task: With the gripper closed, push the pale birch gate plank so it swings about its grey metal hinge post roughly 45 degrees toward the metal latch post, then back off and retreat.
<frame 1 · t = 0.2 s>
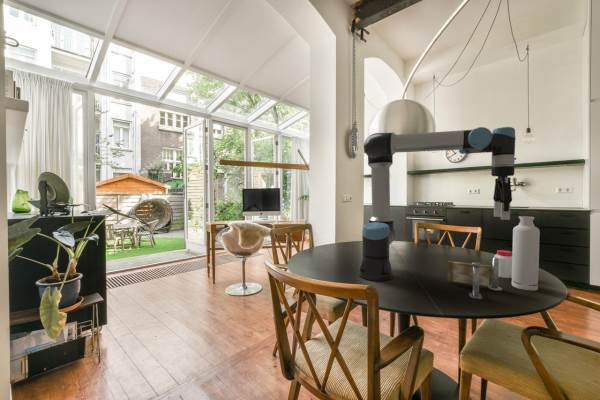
hand: (501, 218, 111), 27 cm above the table, fingers open, 13 cm apart
pill bottle: (503, 275, 122), on the table
bottle: (524, 287, 108), on the table
gate: (468, 273, 109), point 5 cm above the table, hinge at 0.0°
hinge post: (494, 288, 105), on the table
latch post: (475, 296, 98), on the table
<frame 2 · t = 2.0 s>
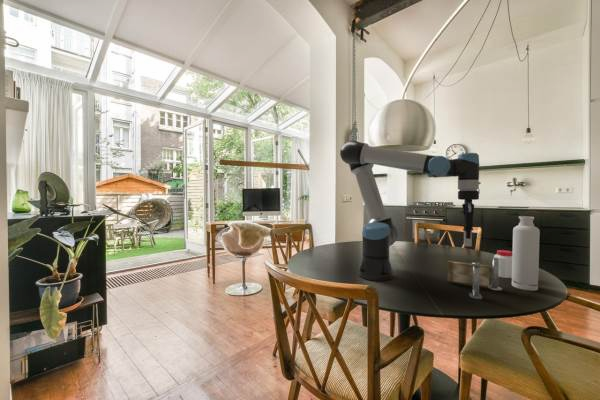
hand: (467, 245, 115), 15 cm above the table, fingers closed
nothing on the table moved.
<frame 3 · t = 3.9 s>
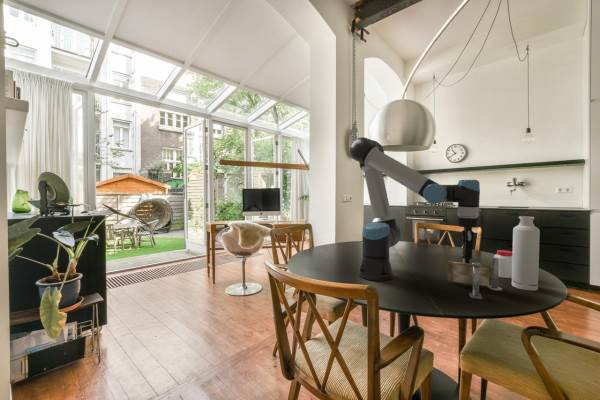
hand: (466, 273, 112), 4 cm above the table, fingers closed
gate: (468, 273, 109), point 5 cm above the table, hinge at 0.1°, touching gripper
everything else where it was.
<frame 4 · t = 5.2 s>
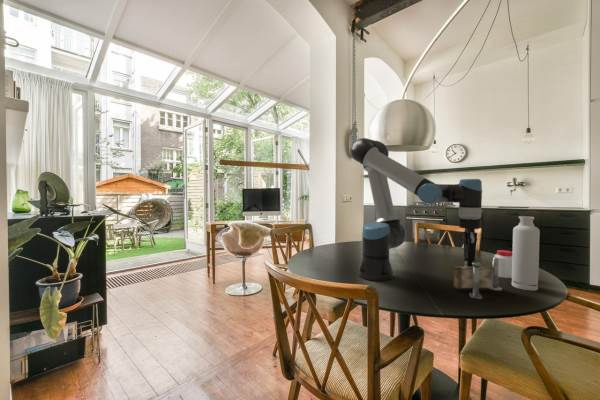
hand: (468, 276, 108), 4 cm above the table, fingers closed
gate: (473, 276, 105), point 5 cm above the table, hinge at 30.5°, touching gripper
everything else where it was.
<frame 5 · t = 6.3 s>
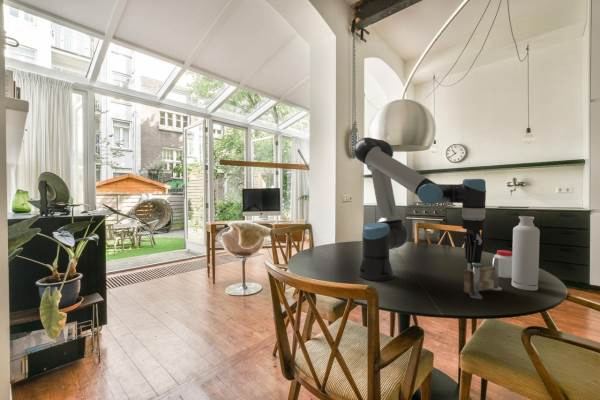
hand: (472, 279, 105), 4 cm above the table, fingers closed
gate: (479, 278, 102), point 5 cm above the table, hinge at 49.0°, touching gripper
everything else where it was.
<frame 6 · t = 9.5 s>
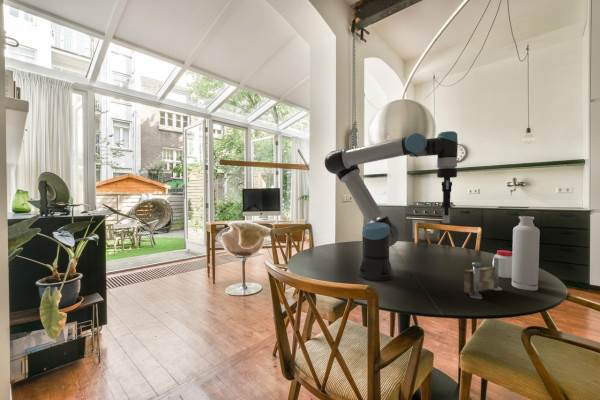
hand: (446, 222, 117), 24 cm above the table, fingers closed
gate: (479, 278, 102), point 5 cm above the table, hinge at 49.0°
everything else where it was.
at the end: gate at +49° (first picture: +0°); gate touching nothing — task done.
